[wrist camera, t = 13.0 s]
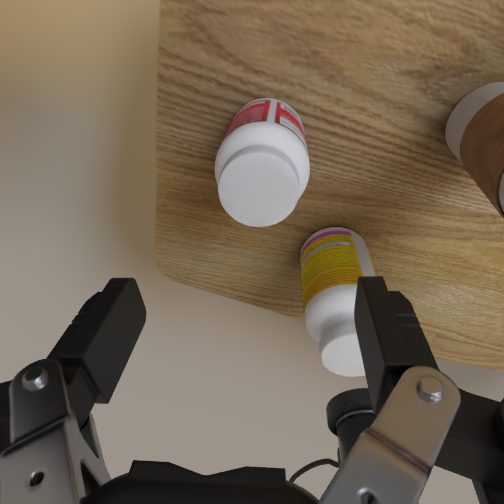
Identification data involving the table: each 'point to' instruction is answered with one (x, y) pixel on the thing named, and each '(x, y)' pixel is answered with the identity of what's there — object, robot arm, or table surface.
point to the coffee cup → (481, 139)
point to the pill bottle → (262, 163)
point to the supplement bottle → (334, 295)
